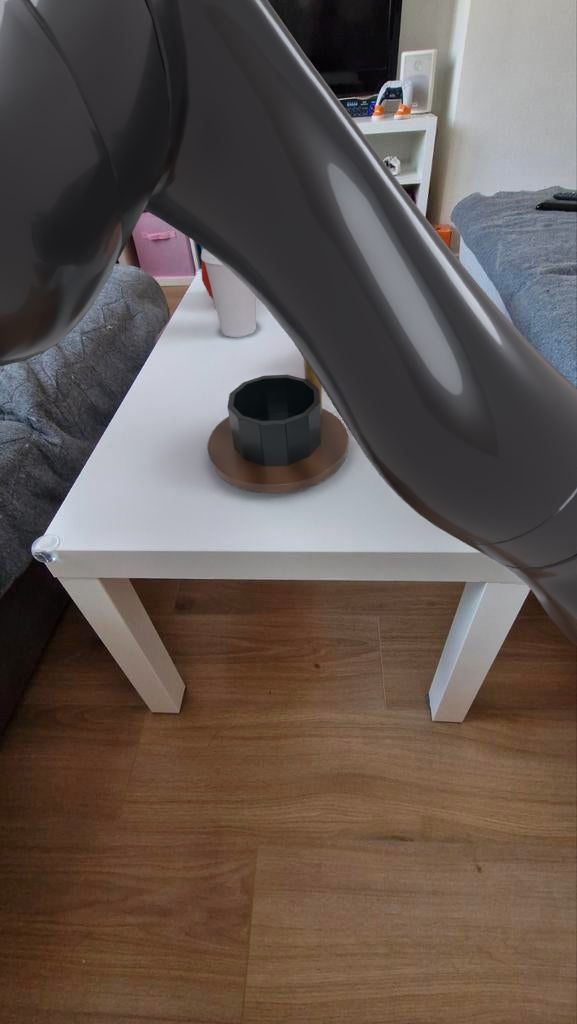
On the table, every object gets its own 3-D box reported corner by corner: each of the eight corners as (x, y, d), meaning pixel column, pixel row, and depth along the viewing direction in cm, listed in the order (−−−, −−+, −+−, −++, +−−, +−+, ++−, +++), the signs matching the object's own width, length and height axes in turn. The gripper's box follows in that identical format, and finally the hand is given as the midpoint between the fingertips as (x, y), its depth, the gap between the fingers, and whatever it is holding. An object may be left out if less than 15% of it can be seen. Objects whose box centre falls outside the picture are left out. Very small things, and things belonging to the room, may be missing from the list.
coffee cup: (204, 337, 90) (188, 248, 80) (227, 316, 96) (215, 231, 86) (251, 343, 87) (240, 252, 77) (272, 321, 94) (265, 234, 83)
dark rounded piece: (246, 514, 55) (226, 393, 45) (188, 436, 67) (162, 325, 56) (376, 459, 61) (386, 340, 50) (302, 396, 73) (297, 288, 62)
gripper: (549, 336, 35) (420, 263, 46) (380, 376, 32) (288, 288, 44) (520, 425, 40) (410, 339, 52) (372, 467, 37) (292, 366, 49)
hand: (354, 316), depth 48 cm, fingers closed
